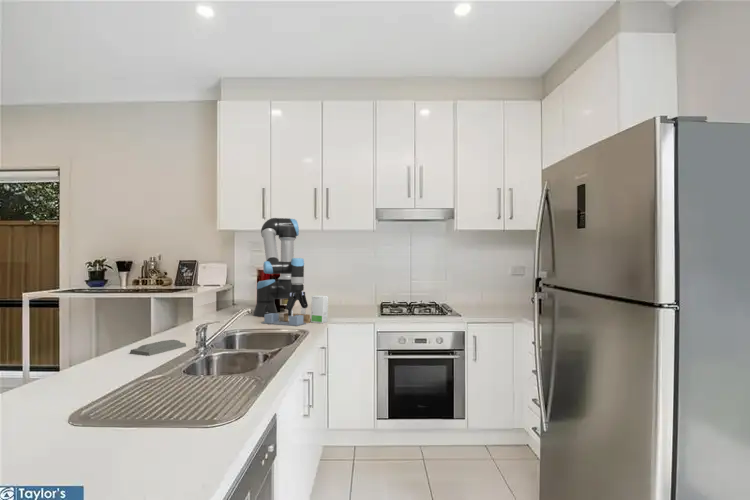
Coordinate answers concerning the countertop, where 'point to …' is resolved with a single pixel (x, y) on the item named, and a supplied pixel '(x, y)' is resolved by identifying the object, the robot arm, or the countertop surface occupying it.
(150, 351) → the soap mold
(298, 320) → the endcap rail
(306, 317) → the brown long rectangular block
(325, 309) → the skincare box
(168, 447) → the countertop surface
